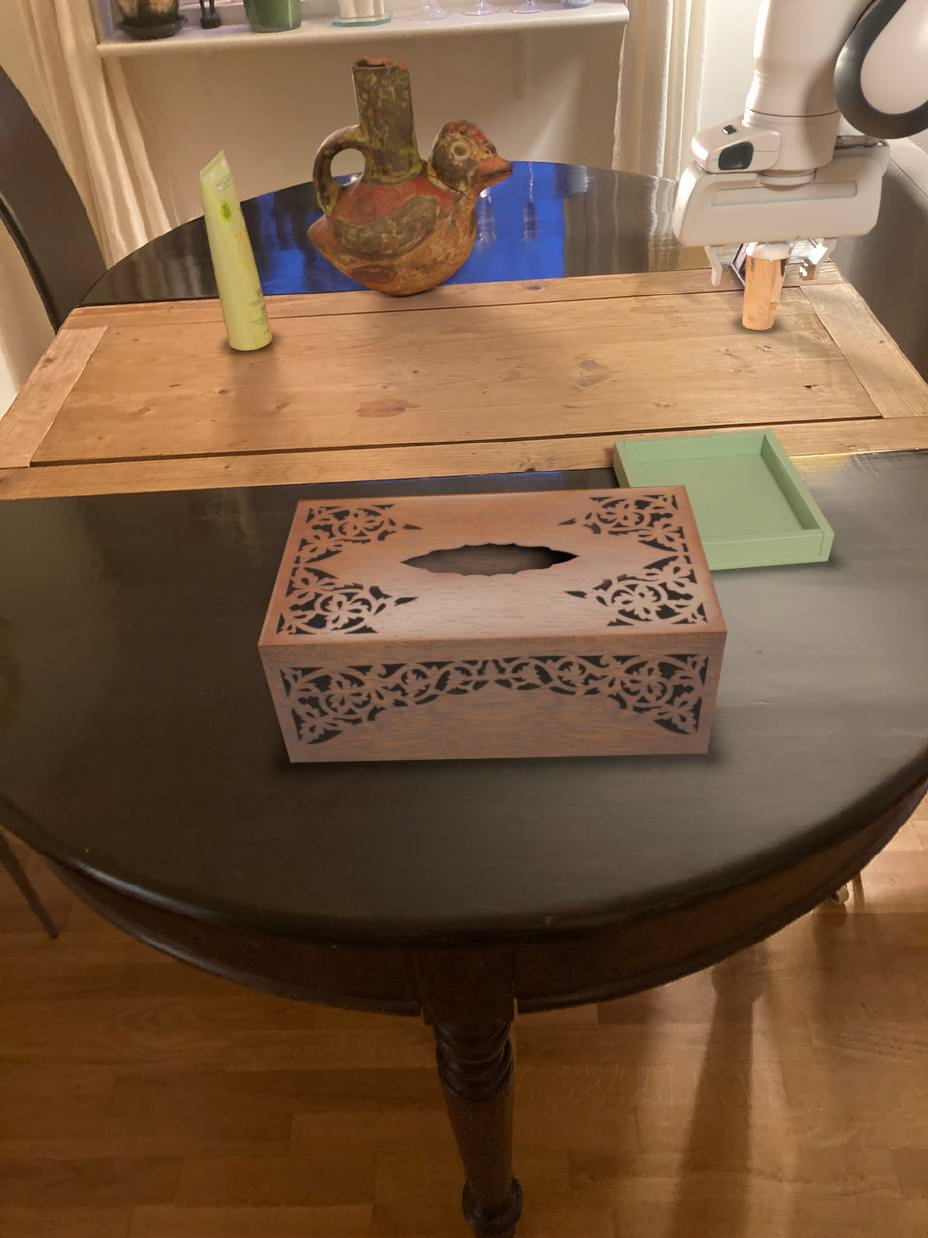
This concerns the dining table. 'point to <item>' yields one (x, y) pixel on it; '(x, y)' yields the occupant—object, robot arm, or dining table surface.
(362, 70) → the ceramic vessel
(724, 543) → the tray
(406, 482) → the dining table surface
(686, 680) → the tissue box cover
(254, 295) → the tube
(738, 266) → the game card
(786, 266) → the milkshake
